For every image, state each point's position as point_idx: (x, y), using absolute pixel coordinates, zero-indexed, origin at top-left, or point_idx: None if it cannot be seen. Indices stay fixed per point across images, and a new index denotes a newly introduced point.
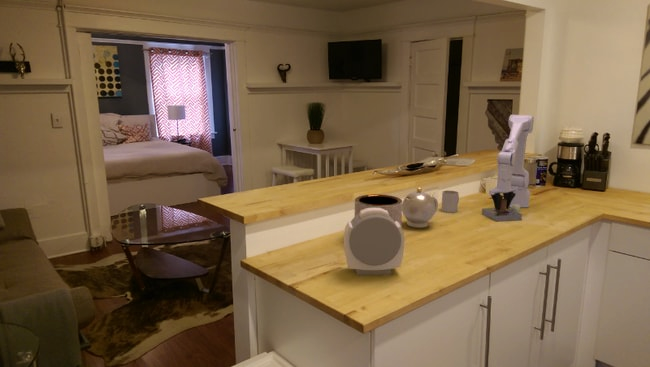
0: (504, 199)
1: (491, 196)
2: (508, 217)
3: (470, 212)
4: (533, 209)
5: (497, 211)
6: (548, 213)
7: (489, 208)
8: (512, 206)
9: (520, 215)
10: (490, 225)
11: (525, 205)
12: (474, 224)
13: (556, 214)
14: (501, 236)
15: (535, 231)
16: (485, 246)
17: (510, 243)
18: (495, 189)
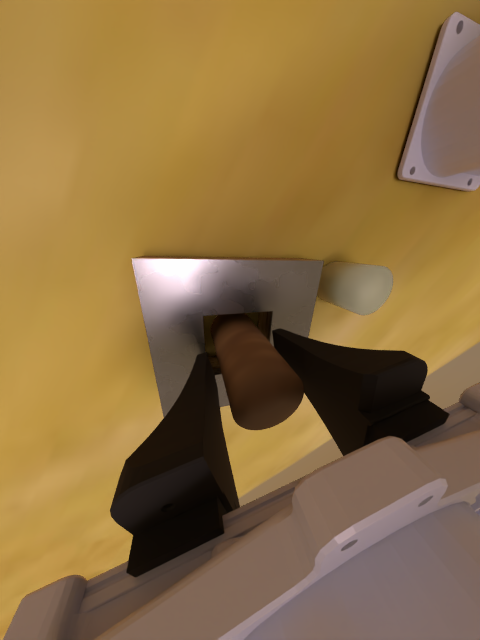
0: (284, 402)
1: (142, 446)
2: None
3: (52, 192)
4: (445, 234)
5: (214, 343)
6: (429, 302)
7: (197, 269)
8: (345, 292)
9: None
10: (113, 440)
11: (474, 174)
12: (22, 438)
13: (435, 317)
14: (110, 520)
15: (245, 465)
16: (18, 590)
17: (115, 550)
18: (208, 605)
